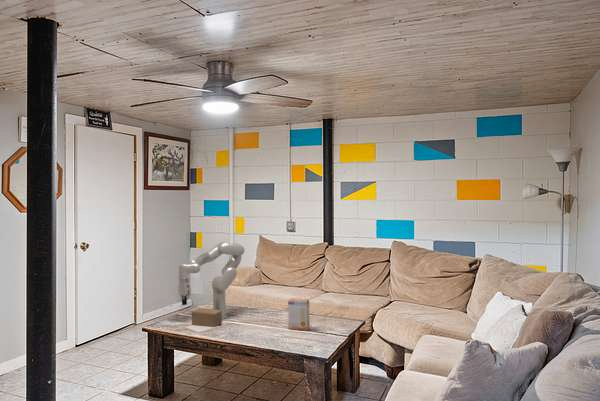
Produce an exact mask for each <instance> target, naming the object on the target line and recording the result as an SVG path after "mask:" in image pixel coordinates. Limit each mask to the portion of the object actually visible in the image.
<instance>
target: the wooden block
mask: <svg viewBox="0 0 600 401" xmlns="http://www.w3.org/2000/svg"><path fill="white" fill-rule="evenodd" d="M222 322H223V319H222V311H221V310H213V308H212V309H210V308H199V307H198V308H197V309H194V310H192V311H191V325H201V326H212V327H216V326H220V325H221V324H222Z"/></svg>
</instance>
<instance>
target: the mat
mask: <svg viewBox="0 0 600 401" xmlns="http://www.w3.org/2000/svg"><path fill="white" fill-rule="evenodd" d="M220 327H221V326H220V325H218V326H216V327H212V326H201V325H192V324H191V325H187V326H184V329H186V330H189V331H190V332H191V331H192V332H195V333H197V334H201V333H203V332H208V331H211V330H214V329H215V330H216V329H218V328H220Z"/></svg>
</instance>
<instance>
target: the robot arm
mask: <svg viewBox="0 0 600 401" xmlns="http://www.w3.org/2000/svg"><path fill="white" fill-rule="evenodd" d="M244 253H245V248H244V246H243V244H238V243H227V242H224V241H220V242H219V243H217V244H216V245H214V246H213V247H211V248H210V249H209V250H207V251H205V252H204V253H202V254H200V255H198V256H196V258H194V259H192V260H191V261H190V262H189V263H185V262H183V263H180V264H179V265H178V294H179V297H181V305H182V306H185V305H188V302H187V301H188V299H189V298H190V296H191V294H192V290H191V283H190V274H197V273H199V272H200V271H201V266H203V265H205V264H207V263H211V262H214V261H215V260H216V259H218V258H219V257H220V256H222V255H228V256H230V258H229V259H228V261H227V262H226V263H225V265H224V267H223V268H222V269H221V272H220V273H221V276H218V275H217V276H215V277H214V278H213V279H212V281H211V287H212V309H213V310H221V311H222V320H224V319H227V318H228V314H230V313H231V309H229V310H226V307H227V306H226V290H228V288H229V287H230V286H231V285H232V283H233V282H234V280H235V279H236V277H237V274H238V271H237V268H238V267H239V265H240V263H241V261H242V255H244Z"/></svg>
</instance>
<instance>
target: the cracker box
mask: <svg viewBox="0 0 600 401" xmlns="http://www.w3.org/2000/svg"><path fill="white" fill-rule="evenodd" d="M287 306H288V307H287V312H288V314H287V315H288V330H292V331H293V330H295V331H296V330H297V331H305V332H307V331H309V330H310V329H311V328H310V325H311V324H310V323H311V322H310V299H307V298H305V299H304V298H289V299H288V300H287Z"/></svg>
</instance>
